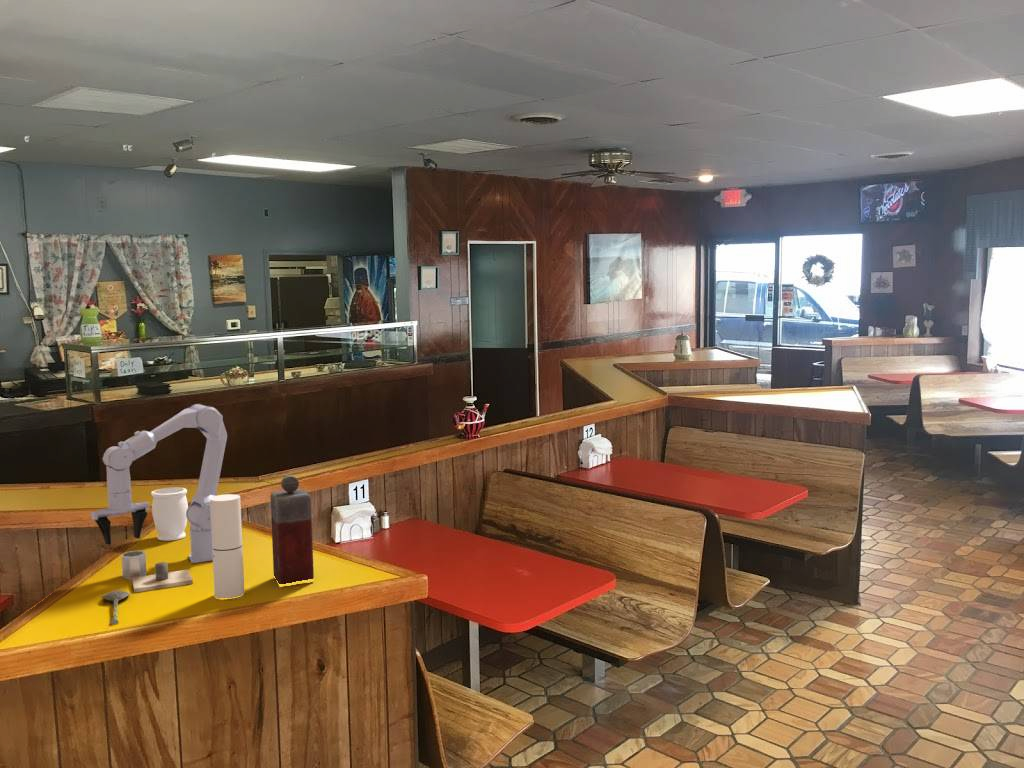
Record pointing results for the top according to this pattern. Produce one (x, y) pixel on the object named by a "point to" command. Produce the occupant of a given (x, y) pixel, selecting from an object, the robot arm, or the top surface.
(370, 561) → the top surface
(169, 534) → the jar
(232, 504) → the cylindrical container
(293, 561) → the ball-stopper bottle
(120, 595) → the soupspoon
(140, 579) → the board
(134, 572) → the collar
